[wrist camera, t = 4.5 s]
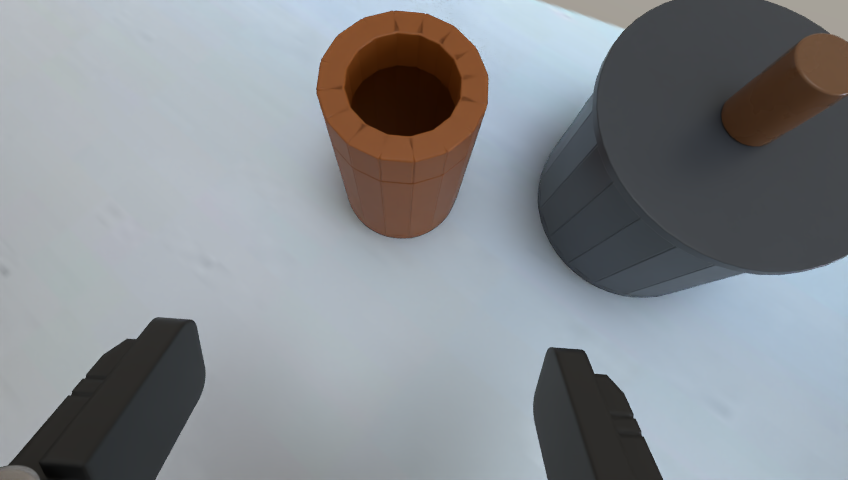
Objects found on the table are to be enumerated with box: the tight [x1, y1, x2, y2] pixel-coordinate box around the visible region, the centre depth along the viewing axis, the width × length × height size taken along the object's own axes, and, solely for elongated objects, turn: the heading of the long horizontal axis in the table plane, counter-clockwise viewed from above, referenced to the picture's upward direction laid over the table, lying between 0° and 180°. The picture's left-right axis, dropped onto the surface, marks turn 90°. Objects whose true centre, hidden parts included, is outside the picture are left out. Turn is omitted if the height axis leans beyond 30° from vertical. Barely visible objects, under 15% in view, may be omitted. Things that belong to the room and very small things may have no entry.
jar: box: [316, 11, 488, 238], centre depth 22 cm, size 6×6×10 cm
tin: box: [538, 94, 744, 297], centre depth 23 cm, size 11×11×9 cm
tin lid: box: [592, 0, 848, 275], centre depth 17 cm, size 12×12×5 cm
